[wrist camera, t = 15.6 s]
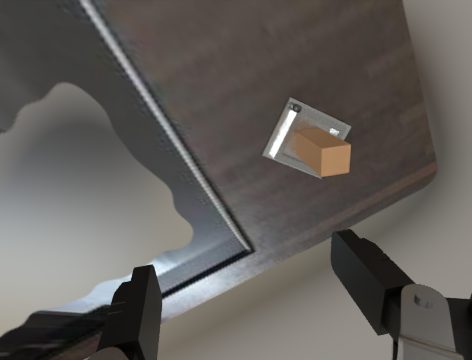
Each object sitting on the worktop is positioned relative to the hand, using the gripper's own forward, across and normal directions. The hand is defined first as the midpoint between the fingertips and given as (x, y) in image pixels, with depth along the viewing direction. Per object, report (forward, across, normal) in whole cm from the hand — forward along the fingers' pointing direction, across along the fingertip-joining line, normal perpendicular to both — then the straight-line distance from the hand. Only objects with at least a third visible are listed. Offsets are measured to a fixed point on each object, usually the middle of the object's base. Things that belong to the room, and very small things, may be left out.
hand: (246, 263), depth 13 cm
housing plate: (+34, -16, +6) cm, 38 cm away
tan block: (+33, -16, +6) cm, 37 cm away
